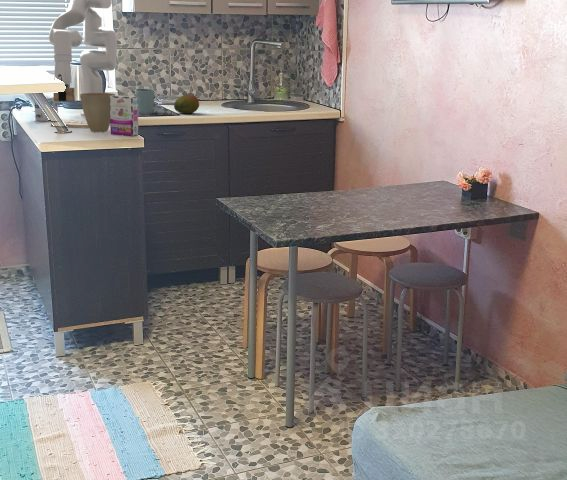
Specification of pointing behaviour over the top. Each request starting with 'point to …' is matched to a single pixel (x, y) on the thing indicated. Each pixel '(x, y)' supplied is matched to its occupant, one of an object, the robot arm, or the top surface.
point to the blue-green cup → (145, 100)
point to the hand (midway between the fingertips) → (64, 99)
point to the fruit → (186, 104)
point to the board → (75, 124)
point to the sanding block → (67, 95)
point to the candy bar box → (124, 115)
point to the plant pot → (97, 110)
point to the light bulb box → (39, 113)
